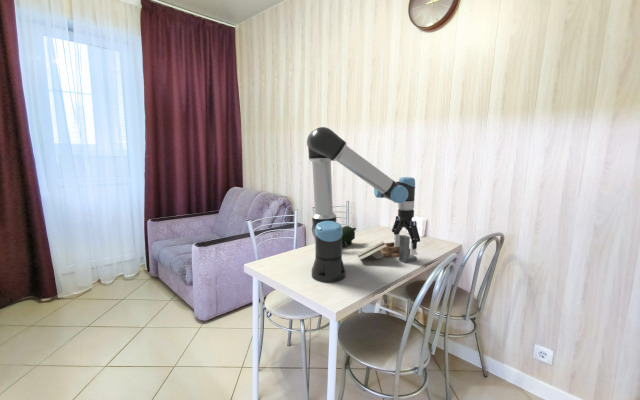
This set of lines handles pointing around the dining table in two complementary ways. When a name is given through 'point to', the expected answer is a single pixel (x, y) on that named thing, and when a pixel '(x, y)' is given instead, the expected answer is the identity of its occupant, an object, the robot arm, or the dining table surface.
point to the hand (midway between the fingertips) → (404, 250)
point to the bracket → (405, 250)
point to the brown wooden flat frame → (391, 250)
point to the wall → (373, 251)
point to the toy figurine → (347, 235)
